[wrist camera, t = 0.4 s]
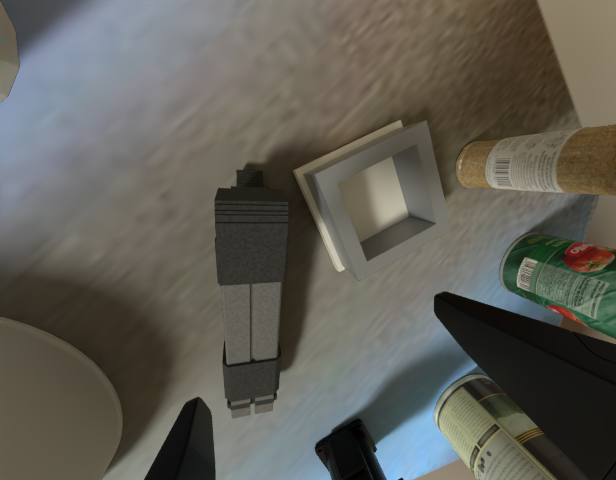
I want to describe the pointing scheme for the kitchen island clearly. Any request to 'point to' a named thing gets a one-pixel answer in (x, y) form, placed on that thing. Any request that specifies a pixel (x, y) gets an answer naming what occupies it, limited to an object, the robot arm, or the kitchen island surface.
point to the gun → (251, 288)
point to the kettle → (53, 409)
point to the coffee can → (498, 435)
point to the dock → (376, 197)
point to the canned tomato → (564, 278)
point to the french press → (7, 54)
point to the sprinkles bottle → (544, 162)
